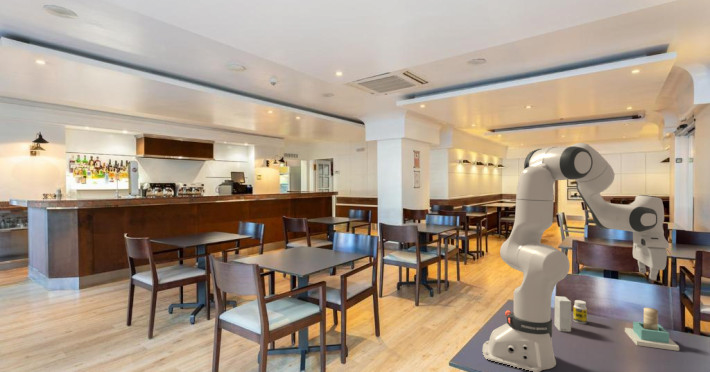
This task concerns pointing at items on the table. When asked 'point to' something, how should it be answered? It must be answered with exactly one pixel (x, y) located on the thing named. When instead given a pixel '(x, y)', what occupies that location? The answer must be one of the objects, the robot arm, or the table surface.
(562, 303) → the skincare box
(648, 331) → the socket block
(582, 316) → the supplement bottle
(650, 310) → the maple peg
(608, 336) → the table surface
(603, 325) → the table surface
